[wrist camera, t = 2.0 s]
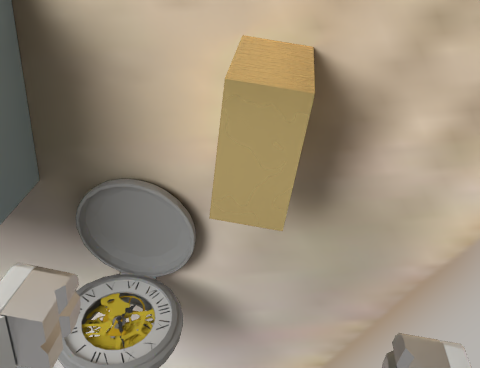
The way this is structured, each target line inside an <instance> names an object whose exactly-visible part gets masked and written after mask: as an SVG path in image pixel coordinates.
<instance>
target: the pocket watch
mask: <svg viewBox="0 0 480 368" xmlns="http://www.w3.org/2000/svg"><path fill="white" fill-rule="evenodd" d="M76 225H77V230H78V232H79V235H80V237H81V239H82V241H83V243H84V245H85V246H86V247H87V248H88V250H89V251H90V252H91V253H92V254H93V255H94V256H95V257H96V258H98V259H99V260H100V261H102V262H103V263H104V264H106V265H108V266H110V267H112V268H114V269H116V270H118V271H120V274H117V275H112V276H107V277H103V278H100V279H98V280H95V281H93V282H90V283H88V284H86V285H84V286H83V287H81V288H80V289H78V290H77V291H75V292H76V293H77V294H78V295H79V296H80V302H81V305H80V313H79V316H78V319H77V323H76V325H75V327H74V329H73V331H72V333H71V334H69V335H68V336H66V337H65V338H63V339H62V342H63V350H62V352H61V353H60V355H59V357H58V360H59V361H60V363H61V364H62V365H63V366H64V368H159V367H160V366H161V365H162V364H164V363H165V362H166V360H167V359H168V358H169V356H170V355H171V354H172V352H173V351H174V349H175V347H176V345H177V343H178V342H179V339H180V335H181V330H182V326H183V315H182V310H181V305H180V302H179V300H178V299H177V298H176V296H175V295H174V293H173V292H172V291H171V289H170V288H168V287H167V286H165V285H164V284H163V283H161V282H160V281H157V280H156V277H159V276H163V275H166V274H170V273H173V272H175V271H176V270H178V269H180V268H181V267H182V266H183V265H185V264H186V263H187V261H188V260H189V258H190V257H191V255H192V253H193V250H194V245H195V240H196V232H195V226H194V223H193V221H192V218H191V216H190V214H189V212H188V211H187V210H186V209H185V207H184V206H183V205H182V204H181V203H180V201H179V200H178V199H176V198H175V197H174V196H172V195H171V194H170V193H168V192H167V191H166V190H164V189H162V188H160V187H158V186H156V185H153V184H151V183H148V182H144V181H140V180H134V179H116V180H111V181H106V182H104V183H102V184H100V185H98V186H96V187H94V188H92V189H91V190H90V191H89V192H88V193H87V194H86V195H85V196H84V198H83V199H82V200H81V202H80V204H79V206H78V208H77V213H76ZM130 304H133V305H134V306H131V307H130ZM135 305H137V306H139V307H141V308H143V311H142V312H138V311H133V310H132V309H133V308H134V307H135ZM106 309H107V311H106ZM109 310H110V312H108V311H109ZM145 310H147V311H145ZM98 312H100V313H102V314H105V316H102V317H104V318H103V321H101V320H100V319H99V318H101V316H100V317H99V318H97V320H96V319H95V320H91V319H92V318H93V317H94V316H95V315H96V314H97V313H98ZM132 314H138V315H140V318H138V319H137V320H134V321H131V318H130V317H131V315H132ZM147 314H150V315H151V316H149V317H146V316H147ZM126 318H129V322H126ZM149 318H153V320H152V321H149V322H148V321H146V320H145V319H149ZM151 323H154V324H153V325H152V324H151ZM112 325H113V326H112ZM146 325H148V326H149V327H150V328H149V327H148V326H146ZM88 326H92V329H93V331H95V332H94V333H87V334H86V332H89V331H91V328H89V327H88ZM93 326H96V327H94V328H93ZM111 326H112V327H111ZM98 327H101V328H100V329H97V330H94V329H96V328H98ZM108 329H109V330H108ZM98 330H99V331H100V332H99V331H98ZM106 331H107V332H106ZM96 332H98V333H96ZM92 334H96V335H100V336H98V337H94V335H93V337H89V336H90V335H92Z"/></svg>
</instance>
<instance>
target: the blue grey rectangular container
mask: <svg viewBox="0 0 480 368" xmlns="http://www.w3.org/2000/svg"><path fill="white" fill-rule="evenodd" d="M39 180H40V179H39V173H38V167H37V160H36V154H35V148H34V141H33V135H32V129H31V122H30V116H29V109H28V103H27V97H26V90H25V84H24V78H23V71H22V65H21V58H20V52H19V46H18V39H17V33H16V27H15V20H14V14H13V7H12V1H11V0H0V224H1V223H2V222H3V221H4V220H5V219H6V218H7V217H8V215H9V214H10V213H11V212H12V211H13V210H14V209H15V207H16V206H17V205H18V204H19V203H20V202H21V201H22V200H23V198H24V197H25V196H26V195H27V194H28V193H29V192H30V190H31V189H32V188H33V187H34V186H35V185H36V184H37V183H38V181H39Z"/></svg>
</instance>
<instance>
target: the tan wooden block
mask: <svg viewBox="0 0 480 368" xmlns="http://www.w3.org/2000/svg"><path fill="white" fill-rule="evenodd" d="M314 96H315V79H314V49H313V47H310V46H304V45H298V44H292V43H286V42H280V41H274V40H268V39H262V38H256V37H250V36H244V35H243V36H242V38H241V41H240V43H239V45H238V48H237V50H236V53H235V55H234V58H233V60H232V63H231V65H230V67H229V70H228V72H227V75H226V77H225V83H224V92H223V101H222V110H221V119H220V128H219V137H218V146H217V155H216V164H215V173H214V182H213V191H212V200H211V209H210V218H211V219H216V220H222V221H227V222H233V223H239V224H244V225H250V226H256V227H261V228H267V229H273V230H278V231H283V227H284V223H285V219H286V214H287V210H288V206H289V202H290V197H291V193H292V189H293V185H294V180H295V176H296V172H297V168H298V164H299V159H300V155H301V151H302V147H303V142H304V138H305V134H306V130H307V125H308V121H309V117H310V113H311V108H312V104H313V100H314Z"/></svg>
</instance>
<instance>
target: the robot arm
mask: <svg viewBox="0 0 480 368" xmlns="http://www.w3.org/2000/svg"><path fill="white" fill-rule="evenodd" d="M78 285H79V282H78V275H75V274H72V273H67V272H62V271H58V270H53V269H48V268H43V267H39V266H33V265H28V264H23V263H17V264H15V265H14V266H12V267H11V268H10V270H9V271H8V272H7V273H6V275H5V276H4V277H3V278H2V280H1V281H0V368H16V366H21V367H27V368H53V366H54V364H55V363H56V361H57V359H58V357H59V355H60V353H61V352H62V350H63V342H62V339H63V338H65V337H66V336H68V335H69V334H71V333H72V331H73V329H74V327H75V325H76V323H77V319H78V316H79V313H80V305H81V302H80V296H79V295H78V294H77V293H76V292H75V291H76V289H77V287H78ZM392 344H393V349H394V350H393V351H391V352H389V353H387V355H386V357H385V359H384V361H383V365H382V368H471V365H470V363H469V360H468V357H467V354H466V351H465V349H464V347H463V346H462V345H461V344H458V343H451V342H446V341H441V340H440V341H439V340H437V339H431V338H425V337H419V336H413V335H407V334H402V333H399V334H397V335H396V336H395V338H394V340H393V342H392Z"/></svg>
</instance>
